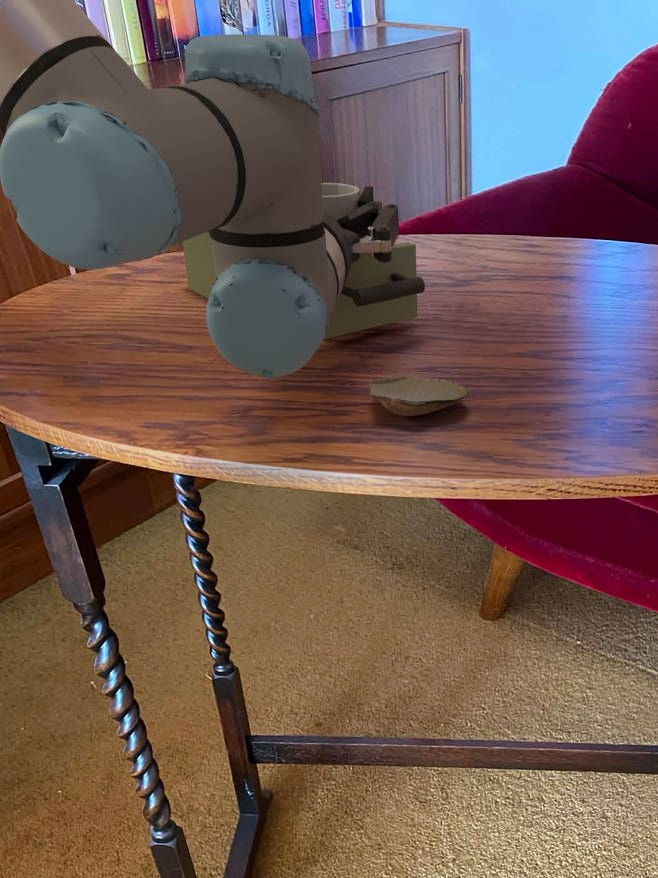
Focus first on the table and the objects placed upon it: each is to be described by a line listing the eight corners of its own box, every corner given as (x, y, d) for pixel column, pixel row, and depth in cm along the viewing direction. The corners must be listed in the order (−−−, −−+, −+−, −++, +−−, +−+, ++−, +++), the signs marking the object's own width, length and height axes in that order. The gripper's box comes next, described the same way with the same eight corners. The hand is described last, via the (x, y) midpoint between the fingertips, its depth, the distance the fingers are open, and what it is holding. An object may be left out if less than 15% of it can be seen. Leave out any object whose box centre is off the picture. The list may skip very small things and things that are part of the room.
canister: (289, 278, 92) (280, 188, 88) (341, 268, 96) (336, 180, 91) (323, 292, 89) (315, 199, 84) (376, 281, 92) (372, 191, 87)
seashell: (474, 423, 79) (396, 382, 81) (485, 389, 78) (405, 348, 80) (422, 443, 73) (339, 398, 75) (434, 406, 71) (348, 361, 73)
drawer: (444, 328, 91) (444, 253, 87) (343, 353, 85) (337, 274, 81) (341, 285, 102) (336, 217, 98) (244, 305, 96) (235, 233, 92)
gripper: (182, 312, 76) (241, 240, 95) (422, 316, 76) (433, 243, 95) (165, 211, 72) (230, 156, 90) (420, 215, 72) (432, 159, 91)
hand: (334, 201), depth 93 cm, fingers closed on canister, 6 cm apart
